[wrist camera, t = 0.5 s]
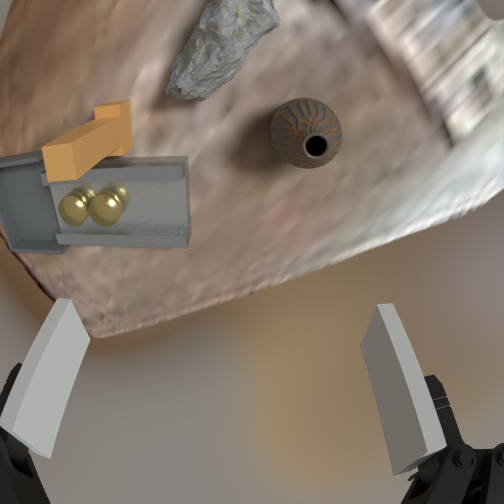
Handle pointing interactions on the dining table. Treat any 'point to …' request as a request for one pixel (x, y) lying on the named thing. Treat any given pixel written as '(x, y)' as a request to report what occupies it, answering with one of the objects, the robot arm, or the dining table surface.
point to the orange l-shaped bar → (90, 143)
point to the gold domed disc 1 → (74, 208)
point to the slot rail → (133, 203)
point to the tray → (28, 206)
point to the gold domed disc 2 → (106, 207)
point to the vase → (305, 133)
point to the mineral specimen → (219, 46)
